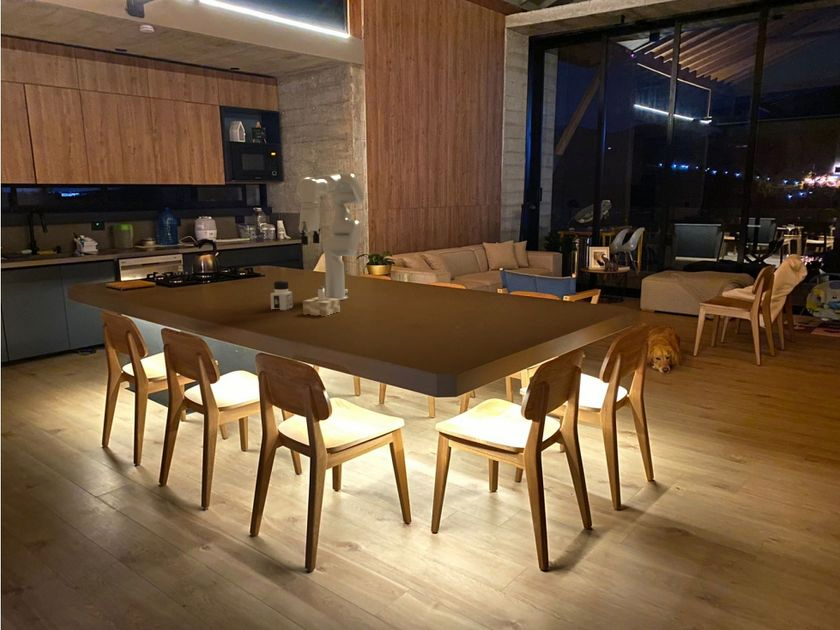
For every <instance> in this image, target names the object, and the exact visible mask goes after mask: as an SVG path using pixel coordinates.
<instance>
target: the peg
mask: <svg viewBox="0 0 840 630" xmlns="http://www.w3.org/2000/svg"><path fill="white" fill-rule="evenodd" d="M325 296H326V286H324V285H323V286H321V285H319V286H317V297H318V301H325Z"/></svg>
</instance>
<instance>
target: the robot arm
mask: <svg viewBox="0 0 840 630" xmlns="http://www.w3.org/2000/svg"><path fill="white" fill-rule="evenodd" d="M297 191H298V193H299V194H300V212H299V213H300V214H299V226H298V230H299V234H300V239H301V241H300V242H301V245H302V246H308V245H309V237H308V236H309V235H308V233H310V232H312V243H313V244H320V234H321V229H322V224H321V223H320V215H319V209H318V208H319V205H318V200H319V199H318V196H324V195H326V194H328V193H329V194H330V193H331V200H332V205H333V209H334V214H333V218H332V219H333V220H332V223H331V226H330V235H331V236H327V237H326V238H325V239H324V240H323V243H322V251H323V254H324V264H325V270H324V271H325V298H336V299H340V301H344V300H347V299H348V298H349V296H348V295H346V294H347V293H348V292H349V290H348V288H345V287H346V286H345V263H344V261H343V259H342V258H341V257H353V256H356V254H357V252H358V248H359V245H360V242H361V237H362V231H363V229H362V224H361V222H360V221H359V220H357V219H351V218H352V213H351V211H350V209H349V208H348V207H347V206H346V205H347V204H348V205H352V204H355V205H358V204H359V205H360V204H361V203H362V202H364V200H365V194H364V190H363V188H362V186H361V184H360V182H359V179H358V178H357V176H356V175H355V174H354V173H352V172H342V173H341V172H334V173H330V174H326V175H317V176H311V177H310V176H309V177H303V178H301V179H300V180H299V181H298V183H297ZM307 235H308V236H307Z"/></svg>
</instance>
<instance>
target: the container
mask: <svg viewBox="0 0 840 630" xmlns="http://www.w3.org/2000/svg"><path fill="white" fill-rule="evenodd" d="M273 288H274V289H273V291H274V292H270V309H271V310H272V309H280V310H279V311H287V309H288V310H290V309H291V308H293V307H294V304H293V300H294V299H293V291H290V290H289V282H288V281H287V280H276V281H274V282H273ZM289 308H290V309H289Z"/></svg>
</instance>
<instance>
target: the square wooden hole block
mask: <svg viewBox="0 0 840 630" xmlns="http://www.w3.org/2000/svg"><path fill="white" fill-rule="evenodd" d="M336 312H338V313H341V300H340V299H336V298H325V301H318V296H315V297H312V298H308V299H305V300H302V313H303V315H307V314H310V315H309V316H318V315H321V317H328V316H327V315H329V316H331V315H330V314H332V315H334V314H333V313H335V314H337V313H336Z"/></svg>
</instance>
